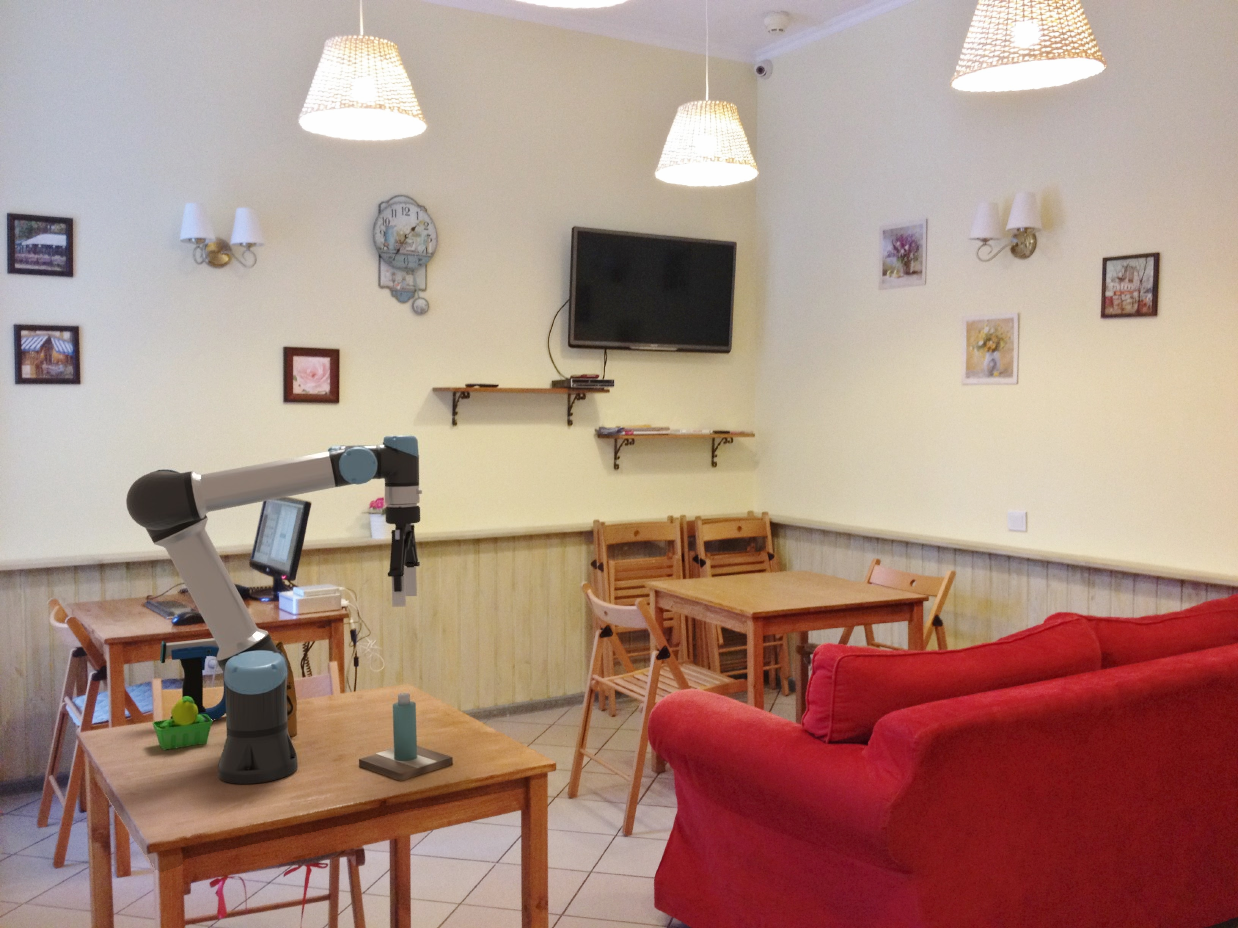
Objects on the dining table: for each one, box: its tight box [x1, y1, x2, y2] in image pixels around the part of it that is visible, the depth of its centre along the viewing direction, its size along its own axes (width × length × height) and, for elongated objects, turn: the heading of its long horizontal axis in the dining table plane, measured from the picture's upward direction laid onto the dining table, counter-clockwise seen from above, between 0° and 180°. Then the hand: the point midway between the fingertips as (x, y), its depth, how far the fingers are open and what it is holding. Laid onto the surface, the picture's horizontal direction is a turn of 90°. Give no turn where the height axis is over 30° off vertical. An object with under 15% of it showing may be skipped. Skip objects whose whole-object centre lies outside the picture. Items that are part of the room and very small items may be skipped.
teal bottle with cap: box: [392, 692, 418, 761], centre depth 216 cm, size 5×5×13 cm
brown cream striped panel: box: [358, 745, 454, 782], centre depth 216 cm, size 13×14×2 cm
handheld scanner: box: [159, 637, 226, 720], centre depth 251 cm, size 5×16×20 cm, turn 115°
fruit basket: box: [152, 696, 214, 751], centre depth 232 cm, size 11×9×11 cm
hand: (405, 601), depth 234 cm, fingers open, 13 cm apart
